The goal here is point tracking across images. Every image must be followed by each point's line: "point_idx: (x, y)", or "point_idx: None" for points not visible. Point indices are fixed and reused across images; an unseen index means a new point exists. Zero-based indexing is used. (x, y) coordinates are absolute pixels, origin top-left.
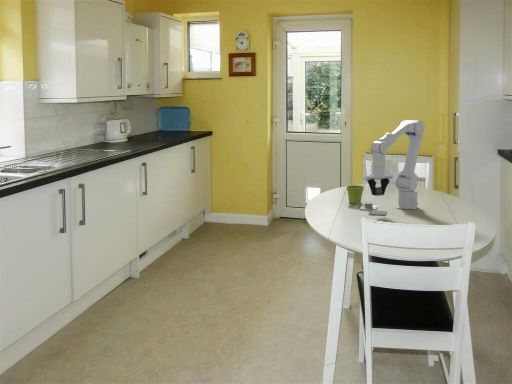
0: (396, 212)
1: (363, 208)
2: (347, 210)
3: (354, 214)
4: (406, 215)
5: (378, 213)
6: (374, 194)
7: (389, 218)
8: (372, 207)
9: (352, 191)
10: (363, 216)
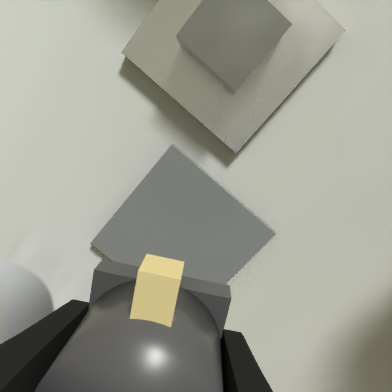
0: (331, 277)
1: (150, 72)
2: (17, 11)
3: (4, 174)
4: (319, 375)
5: None
6: None
7: None
8: (252, 77)
9: None
10: (36, 258)
